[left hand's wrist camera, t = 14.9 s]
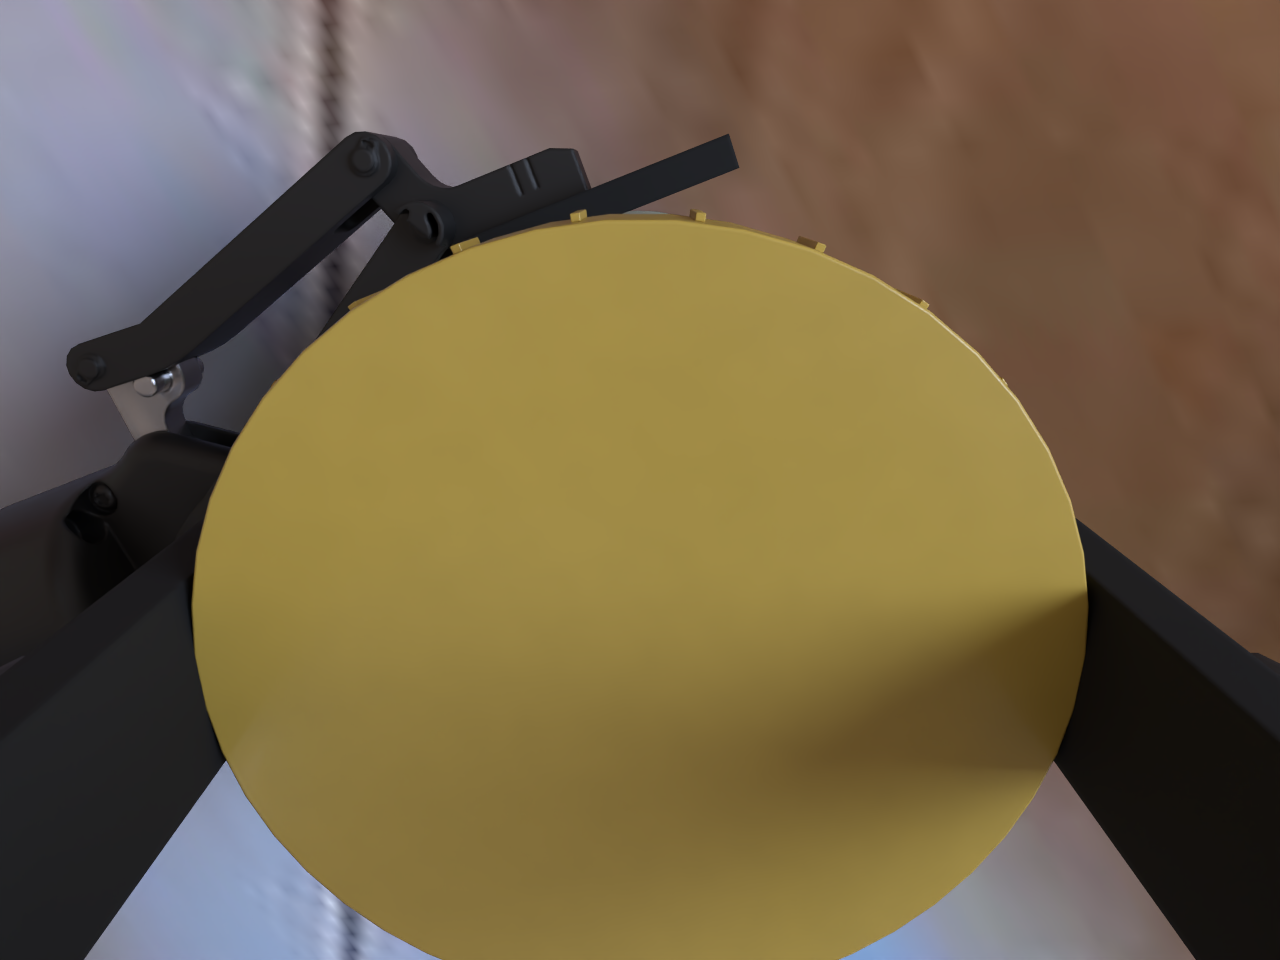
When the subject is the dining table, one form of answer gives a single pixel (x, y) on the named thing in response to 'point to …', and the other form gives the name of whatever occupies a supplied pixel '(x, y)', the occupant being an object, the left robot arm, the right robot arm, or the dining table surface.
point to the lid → (639, 600)
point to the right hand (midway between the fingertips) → (794, 363)
